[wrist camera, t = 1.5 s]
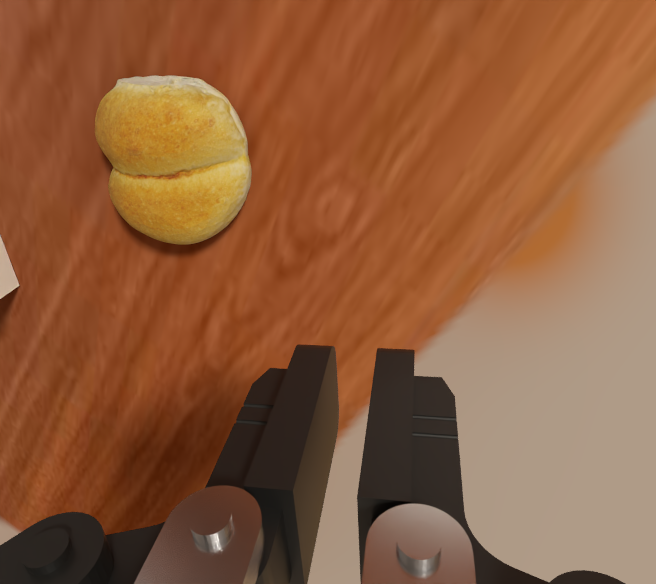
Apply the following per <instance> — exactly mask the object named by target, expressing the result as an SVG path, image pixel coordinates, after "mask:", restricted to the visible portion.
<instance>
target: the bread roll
mask: <svg viewBox="0 0 656 584" xmlns="http://www.w3.org/2000/svg"><path fill="white" fill-rule="evenodd" d="M95 135H96V140H97V142H98V144H99V146H100V148H101V150H102V151H103V153H104V154H105V156H106V157H107V158H108V160H109V161H110V162H111V164H112V165H113V167H114V168H113V170H112V172H111V175H110V179H109V185H108V189H109V194H110V198H111V200H112V202H113V204H114V206H115V208H116V209H117V211H118V212H119V214H120V215H121V216H122V217H123V219H124V220H125V221H126V222H127V223H128V224H129V225H131V226H132V227H133V228H135V229H136V230H138V231H140V232H141V233H143V234H145V235H147V236H149V237H151V238H154V239H156V240H159V241H163V242H166V243H172V244H194V243H198V242H201V241H204V240H206V239H208V238H211V237H212V236H214V235H216V234H217V233H219V232H220V231H221V230H223V229H224V228H225V227H227V226H228V224H229V223H230V222H231V221H232V220H233V219H234V218H235V217H236V216H237V214H238V212H239V210H240V209H241V208H242V206H243V204H244V202H245V200H246V197H247V193H248V191H249V188H250V183H251V174H252V170H251V164H250V160H249V156H248V145H247V138H246V134H245V131H244V128H243V125H242V123H241V121H240V119H239V117H238V115H237V113H236V111H235V110H234V108H233V107H232V105H231V104H230V102H229V100H228V99H227V98H226V97H225V96H224V95H223V94H222V93H220V92H219V91H218V90H217V89H215V88H214V87H212V86H210V85H209V84H207V83H205V82H204V81H203V80H201V79H198V78H190V77H181V76H148V77H137V76H136V77H132V78H123V79H119V80H118V81H117V84H116V86H115V87H114V88H113V89H112V90H111V91H110V92H109V93H107V94H106V95H105V97H104V98H103V99H102V101H101V102H100V105H99V107H98V110H97V113H96V118H95Z"/></svg>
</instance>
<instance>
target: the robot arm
mask: <svg viewBox="0 0 656 584" xmlns="http://www.w3.org/2000/svg"><path fill="white" fill-rule="evenodd" d="M338 420H339V401H338V384H337V367H336V352H335V348H334V346H319V345H297V346H296V348H295V350H294V353H293V356H292V358H291V361H290V364H289V366H288V369H277V368H270V369H269V370H268V371H266V372H265V373H264V374H263V375H262V376H261V377H260V378H259V379H258V380H256V381H255V382H254V383H253V384H252V386H251V389H250V391H249V393H248V395H247V397H246V400H245V402H244V407H242V408H241V411H240V413H239V415H238V417H237V422H236V424H234V426H233V428H232V430H231V433H230V435H229V437H228V439H227V441H226V444H225V446H224V448H223V450H222V452H221V455H220V457H219V459H218V461H217V463H216V466H215V468H214V470H213V472H212V474H211V477H210V479H209V481H208V483H207V485H206V487H205V489H202V490H199V491H197V492H195V493H193V494H191V495H189V496H188V497H187V498H185V499H184V500H182V501H181V502H180V503H179V504H178V505H177V506H176V507H175V508H174V509H173V511H172V512H171V513H170V515H169V516H168V518H167V520H166V522H163V523H161V524H158V525H154V526H150V527H146V528H141V529H136V530H130V531H125V532H120V533H115V534H110V535H105V534H104V531H103V529H102V526H101V525H100V523H99V522H98V521H97V520H96V519H95V518H94V517H92V516H90V515H88V514H85V513H79V512H68V513H62V514H57V515H54V516H51V517H48V518H46V519H44V520H41V521H39V522H37V523H36V524H34V525H32V526H30V527H29V528H27V529H26V530H24V531H23V532H21V533H19V534H18V535H16V536H15V537H13V538H12V539H10V540H8V541H7V542H5V543H4V544H2V545H0V584H307V582H308V577H309V572H310V567H311V562H312V557H313V552H314V547H315V542H316V537H317V532H318V527H319V522H320V517H321V512H322V508H323V503H324V498H325V493H326V488H327V483H328V478H329V473H330V468H331V463H332V458H333V453H334V448H335V443H336V438H337V431H338ZM357 500H358V525H359V550H360V574H361V584H625V583H623V582H621V581H619V580H618V579H615V578H613V577H610V576H608V575H605V574H602V573H598V572H593V571H585V570H583V571H571V572H567V573H564V574H561V575H559V576H557V577H556V578H554V579H553V580H552V581H551V582H550V583H549V582H546V581H544V580H541V579H539V578H537V577H534V576H532V575H530V574H527V573H525V572H522V571H520V570H518V569H515V568H513V567H511V566H509V565H507V564H505V563H503V562H502V561H500V560H498V559H497V558H495V557H494V556H492V555H491V554H490V553H489V552H488V551H486V550H485V549H484V548H483V547H482V546H481V544H480V543H479V542H478V541H477V540H476V538H475V537H474V535H473V534H472V532H471V530H470V529H469V527H468V524H467V521H466V519H465V513H464V505H463V492H462V480H461V468H460V455H459V444H458V431H457V422H456V407H455V396H454V395H453V393H452V392H451V390H450V389H449V387H448V386H447V384H446V383H445V381H444V380H443V379H442V378H441V377H423V376H414V350H406V349H384V348H378V349H377V354H376V362H375V369H374V376H373V384H372V391H371V399H370V406H369V414H368V421H367V429H366V436H365V444H364V451H363V458H362V466H361V473H360V481H359V488H358V495H357Z"/></svg>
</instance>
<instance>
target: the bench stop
mask: <svg viewBox="0 0 656 584" xmlns="http://www.w3.org/2000/svg"><path fill="white" fill-rule="evenodd" d="M18 286H20V285H19V283H18V280H17V278H16V275H15V272H14V270H13V267H12V264H11V262H10V259H9V257H8V254H7V251H6V249H5V246H4V244H3V241H2V238H1V236H0V299H1V298H2V297H4V296H5V295H7V294H8V293H10V292H11V291H12V290H14V289H15V288H17V287H18Z"/></svg>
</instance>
